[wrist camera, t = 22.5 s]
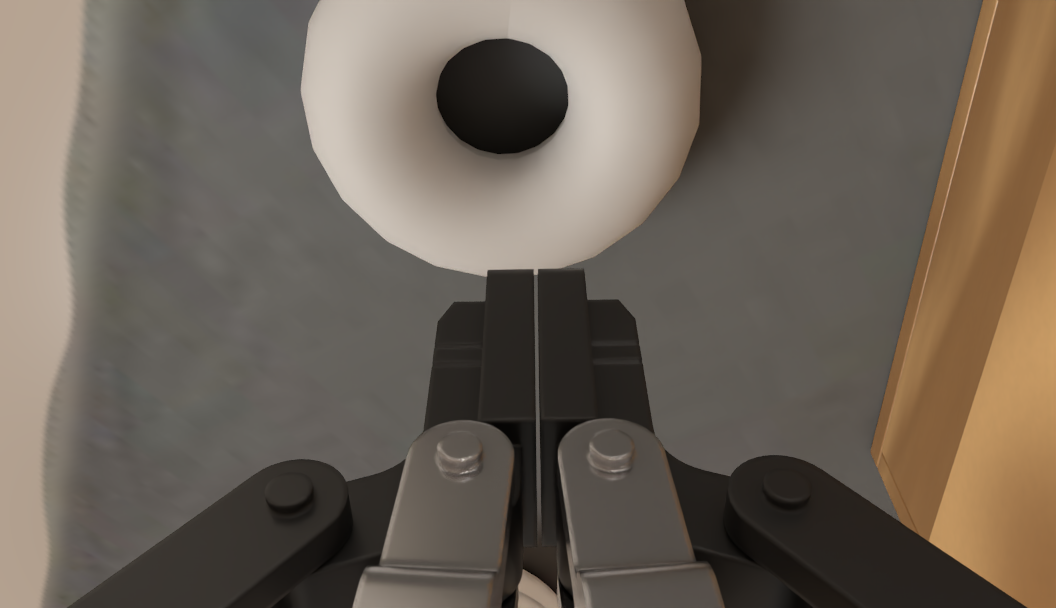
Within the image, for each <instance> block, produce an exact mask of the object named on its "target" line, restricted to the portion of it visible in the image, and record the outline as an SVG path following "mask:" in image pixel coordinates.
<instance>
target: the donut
mask: <svg viewBox="0 0 1056 608" xmlns="http://www.w3.org/2000/svg"><path fill="white" fill-rule="evenodd" d="M503 38H508V39H513V40H517V41H521V42H525V43H529V44H531V45H533V46H534V47H536V48H538V49H539V50H541V51H543V52H544V53H546V54H547V55H549V56H550V57H551V58H552V59H553V61H554V62H555V63H556V64H557V65H558V67H559V68H560V69H561V70H562V73H563V75H564V78H565V80H566V83H567V85H568V104H569V105H568V109H567V112H566V116H565V118H564V120H563V121H562V123H561V124H560V125H559V127H558V128H557V130H556V131H555V133H554V134H553V135H551V136H550V137H549V138H547V139H546V140H545V141H543V142H542V143H541V144H540V145H538V146H536V147H533V148H531V149H528V150H525V151H522V152H520V153H510V154H495V153H490V152H486V151H482V150H478V149H476V148H474V147H472V146H471V145H469V144H467V143H465V142H463V141H462V140H460V139H459V138H458V137H457V136H456V135H455V134H454V133H453V132H452V131H451V130H450V129H449V127H448V126H447V125H446V124H445V122H444V120H443V118H442V116H441V114H440V112H439V110H438V106H437V99H436V91H437V86H438V82H439V77H440V74H441V72H442V70H443V69H444V67H445V65H446V64H447V62H448V61H449V60H450V59H451V58H452V57H453V56H455V55H456V54H457V53H458V52H459V51H460V50H462V49H463V48H465V47H468V46H470V45H473V44H475V43H478V42H480V41H483V40H489V39H503ZM700 87H701V53H700V50H699V47H698V43H697V40H696V37H695V34H694V30H693V27H692V24H691V21H690V17H689V14H688V11H687V8H686V4H685V1H684V0H320V1H319V3H318V5H317V7H316V9H315V11H314V13H313V15H312V17H311V19H310V21H309V24H308V32H307V41H306V49H305V57H304V66H303V74H302V82H301V95H302V100H303V104H304V109H305V114H306V118H307V123H308V128H309V132H310V137H311V142H312V146H313V150H314V151H315V153H316V155H317V157H318V158H319V160H320V162H321V163H322V165H323V167H324V169H325V170H326V172H327V174H328V176H329V177H330V179H331V181H332V182H333V184H334V186H335V188H336V189H337V191H338V193H339V195H340V196H341V198H342V199H343V200H344V201H345V202H346V203H347V204H348V205H349V206H350V207H351V208H352V209H353V210H354V211H355V212H356V213H357V214H358V215H359V216H361V217H362V218H363V219H364V220H365V221H366V222H367V223H368V224H369V225H370V226H371V227H372V228H373V229H374V230H376V231H377V232H378V233H379V234H380V235H381V236H382V237H383V238H384V239H385V240H386V241H388V242H390V243H392V244H393V245H395V246H397V247H399V248H401V249H403V250H405V251H407V252H409V253H411V254H413V255H415V256H417V257H419V258H421V259H423V260H425V261H427V262H429V263H431V264H432V265H434V266H437V267H442V268H447V269H452V270H457V271H461V272H466V273H471V274H476V275H481V276H485V277H487V271H488V270H505V269H534V275H537V274H538V269H560V268H563V267H566V266H569V265H572V264H575V263H578V262H580V261H583V260H586V259H589V258H592V257H595V256H596V255H598V254H599V253H601V252H602V251H604V250H605V249H606V248H608V247H609V246H611V245H612V244H614V243H615V242H617V241H618V240H619V239H621V238H622V237H624V236H625V235H627V234H628V233H630V232H631V231H632V230H634V229H635V228H637V227H638V226H640V225H641V224H642V223H643V222H644V221H645V220H646V219H647V217H648V216H649V215H650V214H651V212H652V211H653V210H654V209H655V207H656V206H657V205H658V204H659V202H660V201H661V200H662V199H663V197H664V196H665V195H666V194H667V192H668V191H669V190H670V189H671V187H672V186H673V185H674V184H675V182H676V181H677V180H678V178H679V176H680V174H681V171H682V168H683V166H684V163H685V160H686V158H687V155H688V152H689V150H690V147H691V144H692V142H693V139H694V137H695V134H696V131H697V129H698V126H699V115H700Z"/></svg>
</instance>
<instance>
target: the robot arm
mask: <svg viewBox="0 0 1056 608" xmlns="http://www.w3.org/2000/svg"><path fill="white" fill-rule="evenodd" d="M538 332H539V403H540V459H541V515H542V547H557V599H558V607H559V608H1027V607H1026V606H1024V605H1023V604H1021V603H1020V602H1018V601H1017V600H1015V599H1014V598H1012V597H1011V596H1009V595H1008V594H1006V593H1005V592H1003V591H1002V590H1000V589H999V588H997V587H996V586H994V585H993V584H991V583H990V582H988V581H987V580H985V579H984V578H982V577H981V576H979V575H978V574H977V573H975V572H974V571H972V570H971V569H969V568H968V567H966V566H965V565H963V564H962V563H960V562H959V561H957V560H956V559H954V558H953V557H951V556H950V555H948V554H947V553H945V552H944V551H942V550H941V549H939V548H938V547H936V546H935V545H933V544H932V543H930V542H929V541H927V540H926V539H924V538H923V537H921V536H920V535H918V534H917V533H915V532H914V531H912V530H911V529H909V528H908V527H906V526H905V525H904V524H902V523H901V522H899V521H898V520H896V519H895V518H893V517H892V516H890V515H889V514H887V513H886V512H884V511H883V510H881V509H880V508H878V507H877V506H875V505H874V504H872V503H871V502H869V501H868V500H866V499H865V498H863V497H862V496H860V495H859V494H857V493H856V492H854V491H853V490H851V489H850V488H848V487H847V486H845V485H844V484H842V483H841V482H839V481H838V480H836V479H835V478H833V477H832V476H830V475H829V474H828V473H826V472H825V471H823V470H822V469H820V468H818V467H816V466H815V465H813V464H811V463H808V462H806V461H804V460H800V459H797V458H793V457H788V456H779V455H769V456H761V457H756V458H753V459H751V460H748V461H746V462H744V463H743V464H741V465H740V466H739V467H737V468H736V469H735V471H734V472H733V473H732V475H731V477H730V476H726V475H721V474H717V473H713V472H709V471H704V470H701V469H698V468H694V467H692V466H690V465H687V464H685V463H683V462H681V461H679V460H678V459H676V458H675V457H673V456H672V455H671V454H669V453H668V452H667V451H666V450H665V449H664V447H663V445H662V443H661V442H660V440H659V439H658V438H657V437H656V436H655V433H654V430H653V425H652V419H651V413H650V406H649V400H648V394H647V388H646V382H645V376H644V370H643V364H642V358H641V352H640V346H639V339H638V333H637V327H636V321H635V318H634V317H633V316H632V315H631V314H630V312H629V311H628V310H627V309H626V308H625V307H624V306H623V304H622V303H621V302H620V301H619V300H587V294H586V283H585V273H584V268H566V269H538ZM523 547H537V488H536V406H535V331H534V269H505V270H488V271H487V285H486V301H485V302H454V303H453V304H452V305H451V306H450V308H449V309H448V310H447V311H446V313H445V314H444V315H443V316H442V317H441V319H440V320H439V321H438V325H437V333H436V340H435V348H434V355H433V367H432V370H431V378H430V386H429V393H428V401H427V408H426V416H425V423H424V431H423V433H422V434H421V435H419V436H418V437H417V438H416V440H415V441H414V442H413V443H412V445H411V446H410V448H409V451H408V454H407V457H406V459H405V460H404V461H402V462H401V463H399V464H398V465H396V466H394V467H393V468H390V469H388V470H386V471H384V472H381V473H378V474H375V475H371V476H367V477H363V478H360V479H356V480H352V481H348V482H346V481H345V479H344V477H343V476H342V475H341V473H340V472H339V471H338V470H336V469H335V468H334V467H332V466H330V465H328V464H326V463H323V462H320V461H315V460H305V459H299V460H290V461H285V462H280V463H277V464H274V465H271V466H269V467H267V468H265V469H263V470H261V471H260V472H258V473H256V474H255V475H253V476H252V477H251V478H249V479H248V480H246V481H245V482H244V483H242V484H241V485H239V486H238V487H236V488H235V489H234V490H232V491H231V492H229V493H228V494H227V495H225V496H224V497H222V498H221V499H220V500H218V501H217V502H215V503H214V504H213V505H211V506H210V507H208V508H207V509H206V510H204V511H203V512H201V513H200V514H198V515H197V516H196V517H194V518H193V519H191V520H190V521H189V522H187V523H186V524H184V525H183V526H182V527H180V528H179V529H177V530H176V531H175V532H173V533H172V534H170V535H169V536H167V537H166V538H165V539H163V540H162V541H160V542H159V543H158V544H156V545H155V546H153V547H152V548H151V549H149V550H148V551H146V552H145V553H144V554H142V555H141V556H139V557H138V558H136V559H135V560H134V561H132V562H131V563H129V564H128V565H127V566H125V567H124V568H122V569H121V570H120V571H118V572H117V573H115V574H114V575H113V576H111V577H110V578H108V579H107V580H106V581H104V582H103V583H101V584H100V585H98V586H97V587H96V588H94V589H93V590H91V591H90V592H89V593H87V594H86V595H84V596H83V597H82V598H80V599H79V600H77V601H76V602H75V603H73V604H72V605H70V606H69V607H67V608H518V600H519V589H518V585H519V583H520V581H521V578H522V572H523Z"/></svg>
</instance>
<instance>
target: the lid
mask: <svg viewBox="0 0 1056 608" xmlns="http://www.w3.org/2000/svg"><path fill="white" fill-rule="evenodd" d="M929 542H930V543H932V544H933V545H935V546H936V547H938V548H939V549H941V550H942V551H944V552H945V553H947V554H948V555H950V556H951V557H953V558H954V559H956V560H957V561H959V562H960V563H962V564H963V565H965V566H966V567H968V568H969V569H971V570H972V571H974V572H975V573H977V574H978V575H979V576H981V577H982V578H984V579H985V580H987V581H988V582H990V583H991V584H993V585H994V586H996V587H997V588H999V589H1000V590H1002V591H1003V592H1005V593H1006V594H1008V595H1009V596H1011V597H1012V598H1014V599H1015V600H1017V601H1018V602H1020V603H1021V604H1023V605H1024V606H1026V607H1027V608H1056V144H1055V147H1054V150H1053V153H1052V156H1051V160H1050V163H1049V166H1048V169H1047V172H1046V175H1045V178H1044V181H1043V185H1042V188H1041V191H1040V194H1039V197H1038V200H1037V203H1036V207H1035V210H1034V213H1033V216H1032V219H1031V222H1030V225H1029V228H1028V232H1027V235H1026V238H1025V241H1024V244H1023V247H1022V250H1021V253H1020V257H1019V260H1018V263H1017V266H1016V269H1015V272H1014V275H1013V279H1012V282H1011V285H1010V288H1009V291H1008V294H1007V297H1006V300H1005V304H1004V307H1003V310H1002V313H1001V316H1000V319H999V322H998V325H997V329H996V332H995V335H994V338H993V341H992V344H991V347H990V351H989V354H988V357H987V360H986V363H985V366H984V369H983V372H982V376H981V379H980V382H979V385H978V388H977V391H976V394H975V397H974V401H973V404H972V407H971V410H970V413H969V416H968V419H967V423H966V426H965V429H964V432H963V435H962V438H961V441H960V444H959V448H958V451H957V454H956V457H955V460H954V463H953V466H952V469H951V473H950V476H949V479H948V482H947V485H946V488H945V491H944V495H943V498H942V501H941V504H940V507H939V510H938V513H937V516H936V520H935V523H934V526H933V529H932V532H931V535H930V538H929Z"/></svg>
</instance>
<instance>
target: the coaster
mask: <svg viewBox="0 0 1056 608" xmlns="http://www.w3.org/2000/svg"><path fill="white" fill-rule="evenodd" d="M518 589H519V600H518V608H559V607H558V599H557V595H556V594H555V593H554V592H553V591H552V590H551V588H550V587H549V586H547V585H546V584H545V583H544V582H542V581H541V580H540V579H539V578H537V577H536V576H534V575H532V574H531V573H529V572H527V571H526V570H524V569H523V572H522V578H521V581H520V583H519V585H518Z"/></svg>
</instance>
